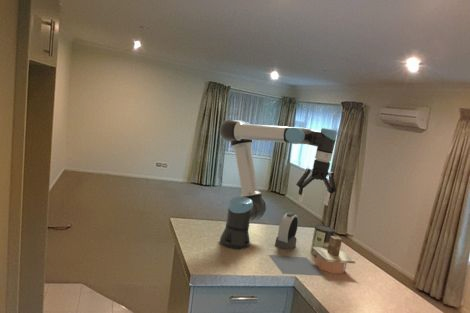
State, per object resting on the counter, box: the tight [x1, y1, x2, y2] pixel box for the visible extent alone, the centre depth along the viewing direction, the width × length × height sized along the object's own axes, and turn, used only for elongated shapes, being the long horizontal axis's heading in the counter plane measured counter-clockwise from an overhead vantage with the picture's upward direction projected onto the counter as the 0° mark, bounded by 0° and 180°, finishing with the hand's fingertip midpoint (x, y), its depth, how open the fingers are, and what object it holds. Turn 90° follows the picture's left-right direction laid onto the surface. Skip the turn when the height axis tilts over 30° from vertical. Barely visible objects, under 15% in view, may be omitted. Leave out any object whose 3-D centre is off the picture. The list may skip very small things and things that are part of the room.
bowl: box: [315, 254, 348, 274], centre depth 176 cm, size 13×13×6 cm
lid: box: [310, 235, 356, 264], centre depth 175 cm, size 15×15×9 cm
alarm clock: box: [274, 211, 299, 250], centre depth 197 cm, size 16×10×18 cm, turn 152°
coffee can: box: [310, 224, 336, 257], centre depth 193 cm, size 10×10×14 cm
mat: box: [268, 254, 326, 277], centre depth 172 cm, size 20×20×1 cm
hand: (312, 203), depth 180 cm, fingers open, 13 cm apart
